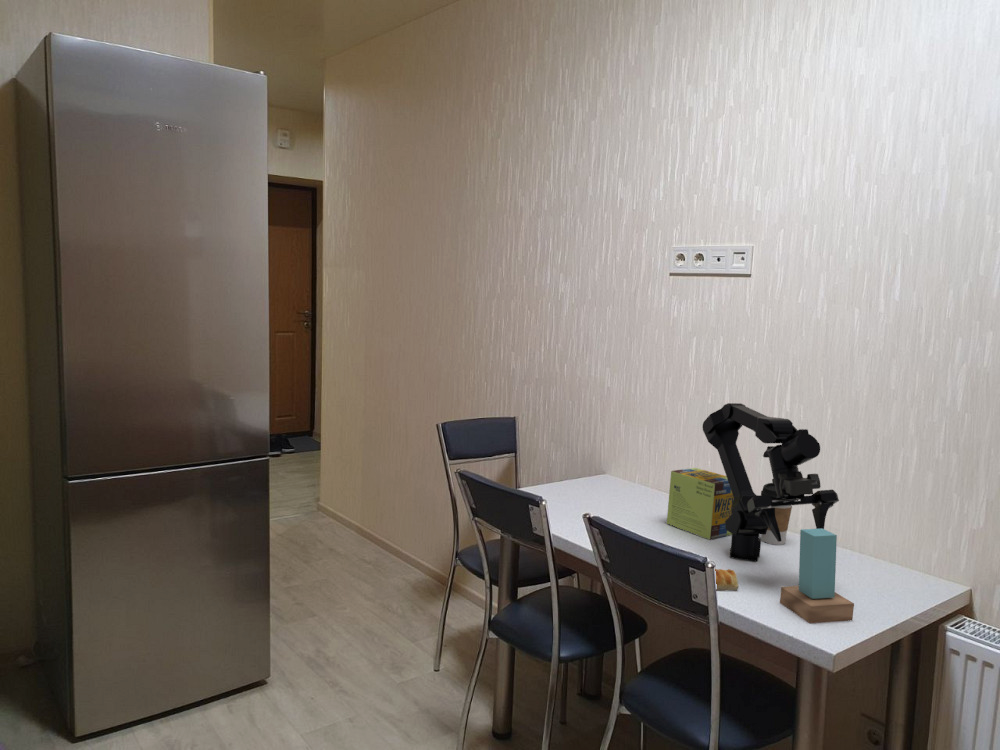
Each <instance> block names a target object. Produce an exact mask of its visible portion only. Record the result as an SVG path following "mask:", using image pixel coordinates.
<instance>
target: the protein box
mask: <svg viewBox="0 0 1000 750" xmlns="http://www.w3.org/2000/svg"><path fill="white" fill-rule="evenodd" d="M669 481H670V482H669V492H668V493H669V494H668V502H667V503H668V505H667V517H666V525H668V524H670V525H669V526H671V525H673V526H675V527H674V528H676V527H677V529H679V528H680V529H679V530H681V529H683V530H682V531H684V530H686V531H685V532H687V531H689V532H691V533H690V534H692V533H694V534H693V535H695V534H697V535H699V536H698V537H700V536H702V537H701V538H703V537H704V538H703V539H705V538H707V539H706V540H708V539H709V541H712V540H715V539H720V538H724V537H729V536H732V533H730V532H729V531H727V530H726V526H725V521H726V520H727V519H728V518H729V517H730V516H731V515H732V511H731V509H732V505H733V502H734V497H733V494H732V491H731V488H730V485H729V482H728V479H727V476H726V475H723V474H720V473H717V472H713V471H708V470H705V469H701V468H697V467H691V468H684V469H677V470H676V469H675V470H671V471H670V480H669ZM673 526H672V527H673ZM689 532H688V533H689ZM697 535H696V536H697ZM728 535H729V536H728ZM711 539H712V540H711Z"/></svg>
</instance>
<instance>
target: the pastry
mask: <svg viewBox="0 0 1000 750" xmlns="http://www.w3.org/2000/svg"><path fill="white" fill-rule="evenodd" d="M714 569H715V571H716V584H717V590H716V591H725V590H735V591H737V590H738V589H739V580H738V576H737V573H736V572H735V571H734V569H729V568H728V569H723V568H722V569H721V568H720V569H719V568H718V569H717V568H714Z"/></svg>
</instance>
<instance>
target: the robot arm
mask: <svg viewBox="0 0 1000 750" xmlns="http://www.w3.org/2000/svg"><path fill="white" fill-rule="evenodd" d="M743 426H744V427H745V428H747V429H749V430H751V431H753V432H754V433H755V434H754V436H755V437H756V438H757V439H758V440H759V441H761V442H762V443H763V444H777V445H774V446H771V445H770V446H769V445H768V446H767V447H766V450H764V453H763V455H762V456H763V458H768V460H769V463H770V464H769V466H770V469H771V473H772V479H771V483H773V484H775V488H776V493H777V496H776V498H773V499H772V498H771V496H770V495H761V494H760V495H759V494H756V493H755V492H754V490H753V487H752V484H751V481H750V478H749V476H748V473H747V470H746V467H745V465H744V462H743V459H742V457H741V454H740V451H739V449H738V448H739V447H738V445H737V441H738V438H739V435H740V432H739V430H741V428H742V427H743ZM702 431H703V434H704V435H705V437H706V439H707V442H708V443H709V444H710V445H711V446H713V448H715V449H716V451H717V452H718V456H719V458H720V461H721V464H722V467H723V470H724V473H725V476H727V479H728V482H729V485H730V488H731V491H732V494H733V497H734V502H733V505H732V509H731V511H732V515H731V516H730V517H729V518H728V519H727V520H726V521H725V526H726V530H727V531H729V532H730V533H732V535H731V541H730V548H729V558H730V559H736V560H744V561H750V562H758V559H759V558H760V557H761V545H762V539H761V538H760V535H762V534H763V535H765V534H766V532H767V529H768V527H769V529H770V530H771V532H772V533H773V535H774V536H775V538H776V539H777V541H778V542H780V541H781V535H780V531H779V527H778V524H777V521H776V517H775V508H772V507H778V506H799V505H800V506H802V505H810V504H811V506H813V507H814V508H812V509H811V511H812V515H813V520H814V525H815V527H816V528H815V529H821V528H822V529H825V523H826V518H827V517H826V516H827V514H828V511H829V509H830V508H832V507H834V505H835V504H837V503H838V502H839V501H840V500H839V495H838V493H837V492H836V490H834V489H822V490H818V489H821V488H822V487H821V480H820V476H819V474H818V473H808V474H807V476H806V477H803V472H802V471H799V467H798V466H799V465H800V466H801V465H803V464H804V463H806V462H809V461H811V460H813V459H815V458H817V457H818V456H819V455H820V453H821V445H820V443H819V442H818V440H817V439H816V437H815V436H813V435H812V434H810V433H809V429H807V428H805V429H803V428H799V429H797V428H796V427H795V426H794V424H793V422H792V421H791V420H790V419H788V418H785V417H783V418H782V417H773V416H768V415H766V414H763V413H761V412H759V411H756V410H754V409H753V408H750V407H748V406H746V405H745V404H743V403H740V402H739V403H736V402H735V403H731V402H729V403H725V404H724V405H723V406H722V407H721V408H719V409H717V410H716V411H714V412H711V413H710V414H709V415H708V416H707V417H706V418H705V419H704V421H703V422H702ZM814 490H817V491H815V492H814ZM787 501H788V502H787Z"/></svg>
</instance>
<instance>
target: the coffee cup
mask: <svg viewBox="0 0 1000 750" xmlns="http://www.w3.org/2000/svg"><path fill="white" fill-rule="evenodd" d="M762 487H763V488H762V490H761V492H760V495H770V496H771V498H772V499H773V498H776V496H777V493H776V488H775V484H773V482H768V483H766V484H764V485H763V486H762ZM787 502H788V501H787ZM772 508H775V517H776V521H777V524H778V527H779V531H780V535H781V541H780V542H778V541H777V539H776V538H775V536H774V535H773V533H772V532H771V530H770V529H769V527H768V529H767V532H766V534H765V535H763V534H760V535H761V538H760V539H761V542H763V543H765V544H766V543H767V544H770V545H775V546H781V545H785V543H786V538H787V532H788V528H789V523H790V519H791V513H792V509H793V505H791V506H778V507H772Z"/></svg>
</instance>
